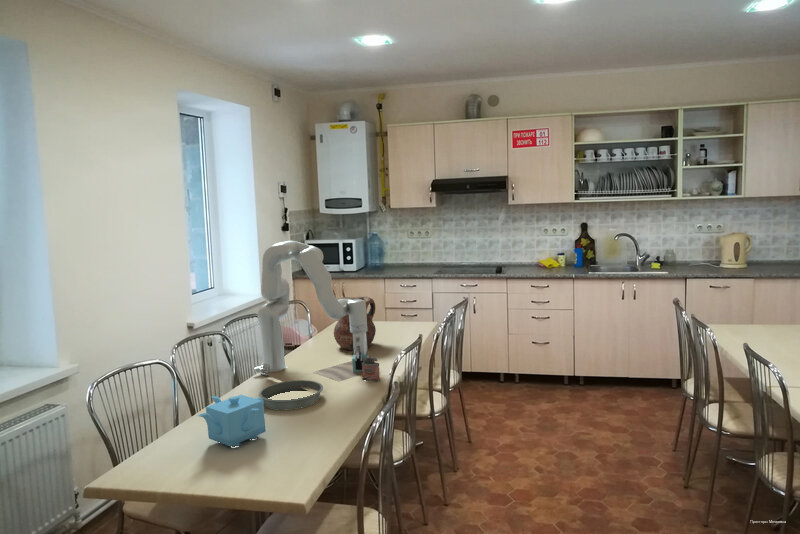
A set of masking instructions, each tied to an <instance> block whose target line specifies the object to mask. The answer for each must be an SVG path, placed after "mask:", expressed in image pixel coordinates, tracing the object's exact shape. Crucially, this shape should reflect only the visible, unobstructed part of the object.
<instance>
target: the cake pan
mask: <svg viewBox="0 0 800 534" xmlns="http://www.w3.org/2000/svg"><path fill="white" fill-rule="evenodd" d="M304 388H308V389H313V390H316V391H317V392H314V393H315V394H313V395H310V396H307V397H303V398H298V399H291V400H272V399H268V398H270V397H272V396H274V395H277V394H280V393H285V392H290V391H309V390H307V389H304ZM323 390H324V386H323V384H322V383H320V382H318V381H314V380H308V379H307V380H306V379H304V380H303V379H299V380H298V379H296V380H285V381H281V382H277V383H276V382H275V383H273V384H270V385H268V386H265V387H264V388H262V389H260V391H259V392H258V396H259V398H262V399H263V400H264V404H263V406H265V407H266V408H267V409H270V408H271V410H275V409H278V410H277V411H286V410H285V409H293V410H296V409H295V408H299V409H302V408H301V407H304V408H306V407H305V406H307V407H309V406H308V405H310V406H312V405H314V404H315V402H316V401H317V400H318V399H319V400H320V397H321V392H322V391H323ZM319 400H318V401H319ZM318 401H317V402H318ZM317 402H316V403H317ZM313 403H314V404H313ZM311 404H312V405H311Z"/></svg>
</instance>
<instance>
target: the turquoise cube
mask: <svg viewBox="0 0 800 534" xmlns="http://www.w3.org/2000/svg"><path fill="white" fill-rule="evenodd" d="M365 357H370V356H369V353H368V354H367V353H366V354H365V355H364V354H363V355H362V360H363V362H365V361H364V358H365ZM355 359H356V355H354V354H353V356H352V358H351V361H352V365H353V372H363V370H356V364H355V361H356V360H355ZM366 362H367V361H366Z"/></svg>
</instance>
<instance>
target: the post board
mask: <svg viewBox="0 0 800 534" xmlns="http://www.w3.org/2000/svg"><path fill="white" fill-rule="evenodd" d="M312 373H313V374H316V375H319V376H322V377H325V378H328V379H330V380H334V381H337V382H341V381H345V380H348V379H351V378H354V377H359V376H361V375H362V376H363V372H353V365H352V360H351V361H347V362H343V363H340V364H336V365H333V366H329V367H326V368H322V369H319V370H314V371H312Z"/></svg>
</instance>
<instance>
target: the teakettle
mask: <svg viewBox="0 0 800 534" xmlns="http://www.w3.org/2000/svg"><path fill="white" fill-rule="evenodd" d="M211 398H212V399H213V401H214V403H213V404H210V405H207V406H205V412H204V413H200V414H197V416H198V417H201V418H203V419H204V420H205V422H206V426H207V434H208V439H209V440H212V441H215V442H217V443H218V442H220V443H221V444H222V445H225V446H228V447H230V448H231V446H232V447H235V446H239V445H240V446H241V443H242V442H245V441H247V440H249V439H251V440H252V439H256V438H257V437H258V435H261V434H263V433H266V431H267V430H266V422H265V421H266V420H265V408H264V400H263V399H262V398H261V397H251V396H247V395H243V394H239V395H235V396H230V397H229V398H227V399H225V400H221V398H220V397H219V396H216V395H212V396H211Z"/></svg>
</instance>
